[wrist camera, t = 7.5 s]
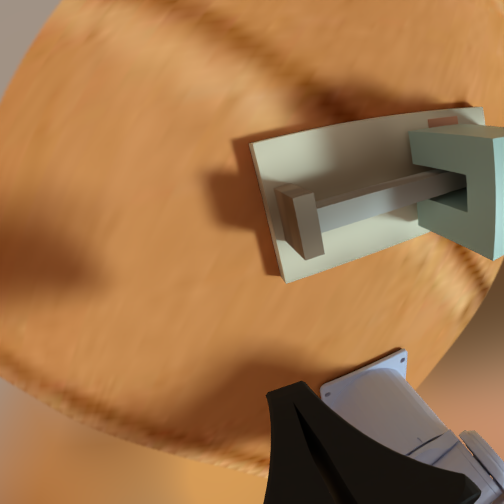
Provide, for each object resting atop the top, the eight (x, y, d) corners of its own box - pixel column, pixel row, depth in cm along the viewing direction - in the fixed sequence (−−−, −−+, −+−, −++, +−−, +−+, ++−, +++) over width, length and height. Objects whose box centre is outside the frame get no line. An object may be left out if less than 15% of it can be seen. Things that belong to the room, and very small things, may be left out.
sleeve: (466, 207, 19) (536, 234, 13) (418, 225, 19) (493, 260, 13) (460, 123, 17) (537, 131, 11) (408, 131, 17) (492, 138, 11)
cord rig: (481, 204, 22) (537, 224, 16) (281, 276, 20) (319, 329, 14) (473, 106, 19) (534, 110, 13) (248, 143, 17) (282, 145, 11)
